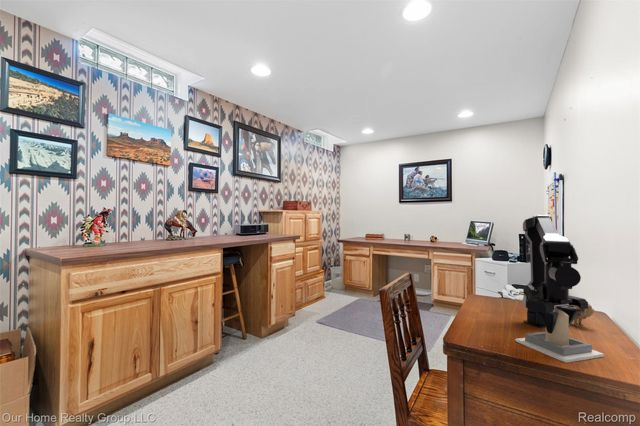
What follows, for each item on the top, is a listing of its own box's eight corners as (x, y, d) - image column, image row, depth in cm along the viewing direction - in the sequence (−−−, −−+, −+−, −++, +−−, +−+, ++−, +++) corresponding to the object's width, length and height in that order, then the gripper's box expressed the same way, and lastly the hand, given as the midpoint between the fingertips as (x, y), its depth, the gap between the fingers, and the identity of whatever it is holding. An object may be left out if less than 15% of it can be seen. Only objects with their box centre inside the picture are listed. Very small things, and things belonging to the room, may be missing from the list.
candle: (573, 346, 87) (572, 312, 87) (551, 344, 88) (551, 311, 88) (561, 339, 92) (561, 307, 92) (542, 337, 93) (541, 306, 93)
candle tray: (549, 336, 99) (549, 328, 99) (603, 356, 85) (603, 346, 85) (515, 341, 95) (515, 332, 95) (566, 362, 81) (566, 352, 81)
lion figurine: (598, 329, 108) (597, 304, 108) (587, 330, 106) (586, 304, 107) (556, 316, 122) (556, 294, 122) (546, 317, 121) (546, 295, 121)
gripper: (551, 274, 101) (551, 320, 100) (509, 277, 96) (509, 325, 95) (589, 281, 90) (589, 332, 90) (544, 284, 85) (544, 339, 84)
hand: (556, 332), depth 90 cm, fingers closed on candle, 5 cm apart
